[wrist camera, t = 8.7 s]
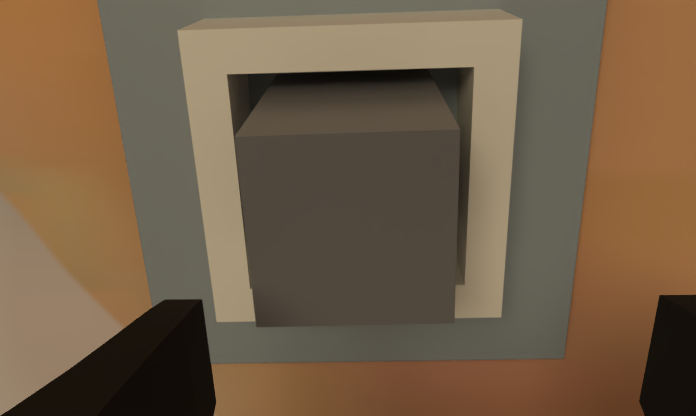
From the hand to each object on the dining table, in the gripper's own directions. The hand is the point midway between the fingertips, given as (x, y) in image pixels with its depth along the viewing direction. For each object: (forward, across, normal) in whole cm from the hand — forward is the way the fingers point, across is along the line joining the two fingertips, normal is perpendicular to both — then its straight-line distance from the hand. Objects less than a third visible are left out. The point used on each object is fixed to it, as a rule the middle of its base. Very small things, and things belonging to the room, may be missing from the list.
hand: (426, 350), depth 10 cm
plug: (+8, +1, -1) cm, 8 cm away
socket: (+9, +1, -1) cm, 9 cm away
